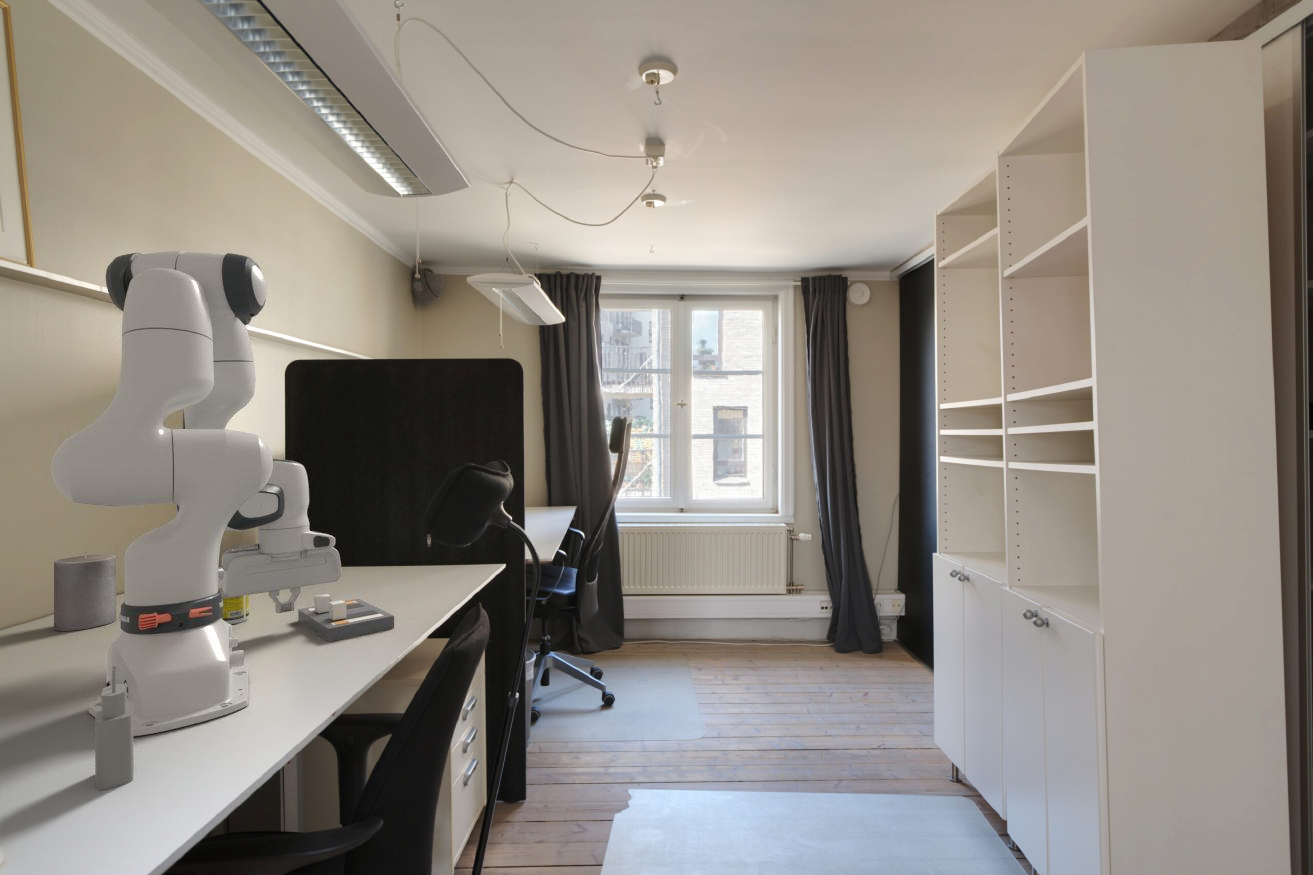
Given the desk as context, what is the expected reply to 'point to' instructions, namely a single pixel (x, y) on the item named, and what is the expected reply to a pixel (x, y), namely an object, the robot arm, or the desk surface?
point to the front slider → (337, 610)
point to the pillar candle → (84, 592)
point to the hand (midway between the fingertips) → (284, 611)
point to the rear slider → (322, 603)
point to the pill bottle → (233, 604)
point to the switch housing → (347, 621)
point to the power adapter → (114, 737)
